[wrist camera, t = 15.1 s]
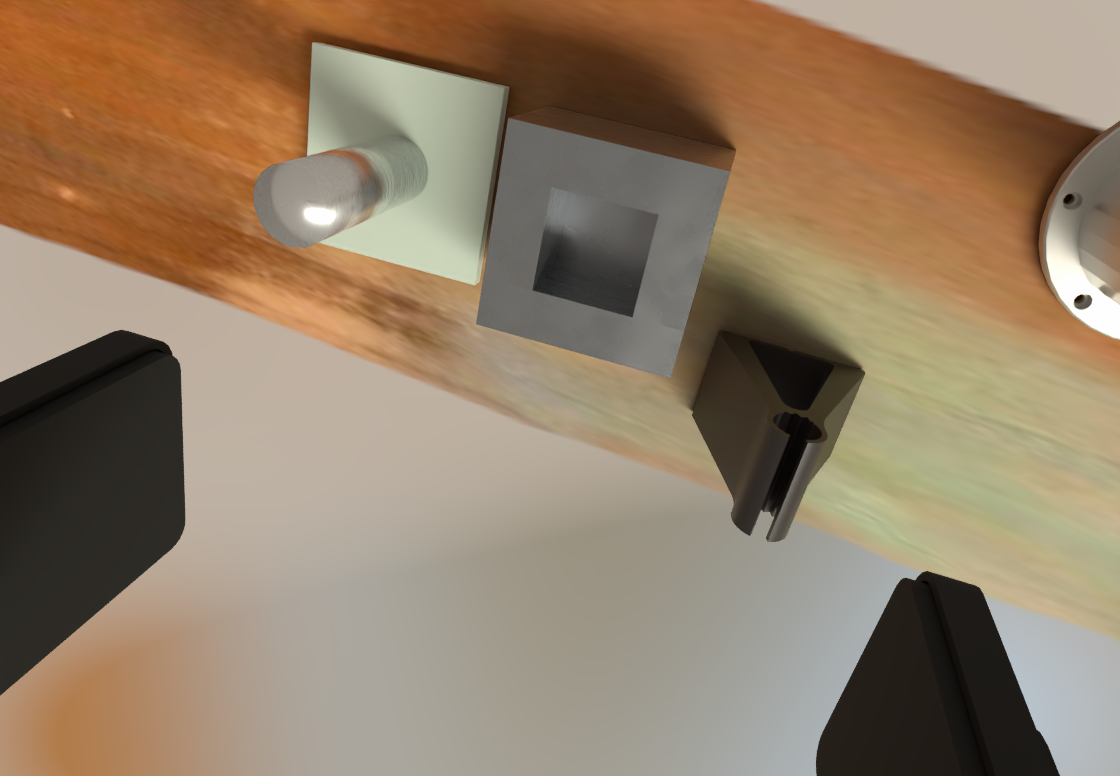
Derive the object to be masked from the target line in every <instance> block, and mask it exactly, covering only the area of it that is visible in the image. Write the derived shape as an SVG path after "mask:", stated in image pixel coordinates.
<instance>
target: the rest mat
mask: <svg viewBox="0 0 1120 776" xmlns="http://www.w3.org/2000/svg"><path fill="white" fill-rule="evenodd" d="M509 89H510V87H508V86H504V85H499V84H495V83H491V82H487V81H482V80H478V79H474V78H470V77H465V76H461V75H457V74H453V73H448V72H444V71H440V70H436V69H431V68H427V67H423V66H419V65H415V64H410V63H406V62H402V61H398V60H393V59H389V58H385V57H381V56H376V55H372V54H368V53H364V52H359V51H355V50H351V49H347V48H342V47H338V46H334V45H330V44H325V43H321V42H312V58H311V81H310V103H309V126H308V148H307V156H309V155H313V154H317V153H321V152H325V151H329V150H333V149H337V148H341V147H345V146H349V145H353V144H357V143H361V142H365V141H369V140H373V139H376V138H380V137H384V136H388V135H400V136H404V137H406V138H408V139H410V140H411V141H413V142H414V143H415V144H416V145H417V146H418V147H419V148H420V149H421V151H422V152H423V154H424V156H425V158H426V161H427V165H428V180H427V184H426V186H425V188H424V190H423V192H422V193H421V194H420V195H419V196H418V197H416V198H415V199H413V200H411V201H409V202H406V203H404V204H402V205H400V206H397V207H395V208H393V209H391V210H389V211H386V212H384V213H382V214H380V215H378V216H375V217H373V218H371V219H369V220H367V221H364V222H362V223H360V224H358V225H356V226H353V227H351V228H349V229H347V230H344V231H342V232H340V233H338V234H336V235H333V236H331V237H329V238H327V239H325V240H322V241H320V242H318V243H322V244H326V245H329V246H333V247H337V248H340V249H344V250H348V251H351V252H355V253H358V254H362V255H366V256H369V257H373V258H377V259H380V260H384V261H388V262H391V263H395V264H399V265H402V266H406V267H410V268H413V269H417V270H421V271H424V272H428V273H432V274H435V275H439V276H443V277H446V278H450V279H454V280H457V281H461V282H465V283H468V284H472V285H476V284H477V283H478V282H479V281H480V277H481V271H482V264H483V258H484V251H485V245H486V238H487V232H488V225H489V219H490V212H491V206H492V199H493V193H494V186H495V180H496V173H497V167H498V160H499V154H500V147H501V141H502V134H503V128H504V121H505V115H506V108H507V102H508V95H509Z"/></svg>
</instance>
